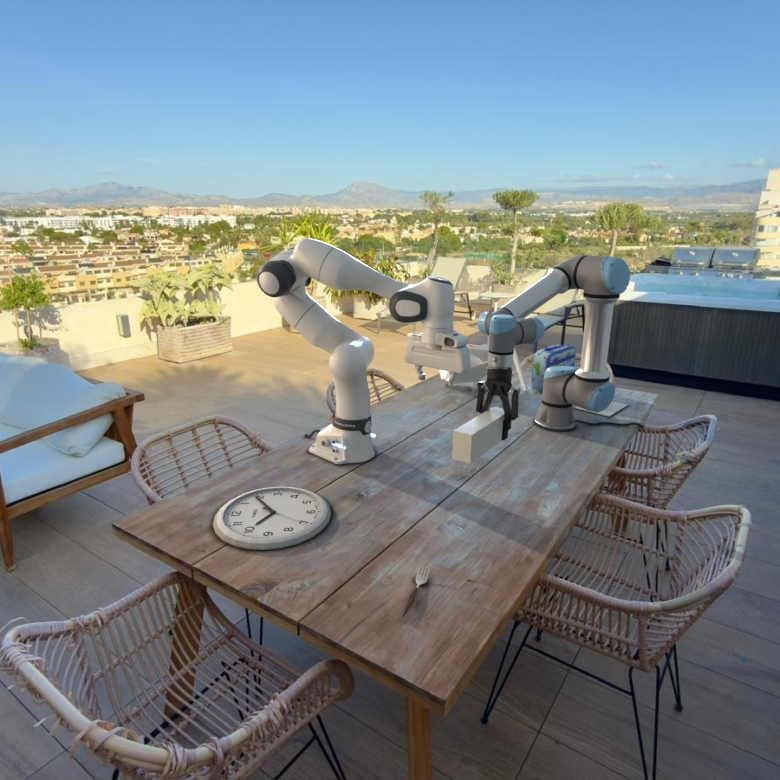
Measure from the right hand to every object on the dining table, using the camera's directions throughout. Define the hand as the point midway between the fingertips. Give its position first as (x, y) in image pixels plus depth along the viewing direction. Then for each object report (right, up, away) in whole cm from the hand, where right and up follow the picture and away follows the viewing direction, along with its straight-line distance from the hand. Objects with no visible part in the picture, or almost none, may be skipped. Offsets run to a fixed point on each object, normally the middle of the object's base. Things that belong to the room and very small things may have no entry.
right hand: (494, 436), depth 166 cm
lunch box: (+44, +15, +83) cm, 95 cm away
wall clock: (-64, -18, -30) cm, 73 cm away
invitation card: (+58, +7, +60) cm, 84 cm away
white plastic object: (+8, +14, +77) cm, 78 cm away
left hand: (-20, +17, -14) cm, 30 cm away
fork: (-28, -28, -58) cm, 70 cm away
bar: (-5, -3, -7) cm, 9 cm away
